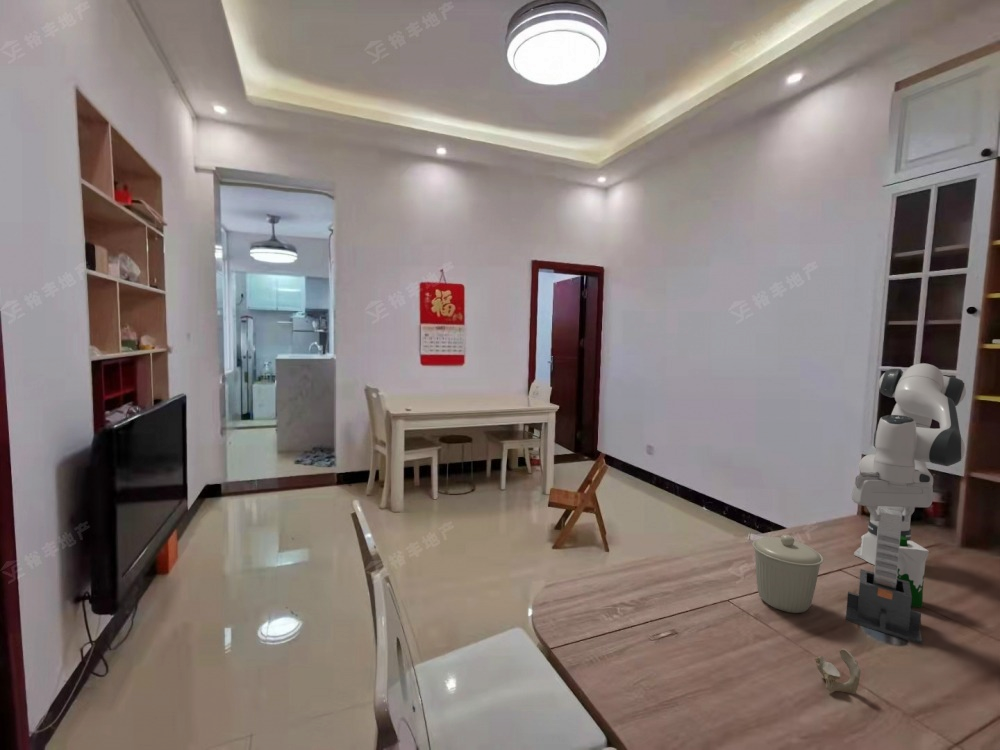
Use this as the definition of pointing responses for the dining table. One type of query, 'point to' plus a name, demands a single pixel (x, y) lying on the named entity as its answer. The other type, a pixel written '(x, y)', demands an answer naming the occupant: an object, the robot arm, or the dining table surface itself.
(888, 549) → the column
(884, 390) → the robot arm
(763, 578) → the canister
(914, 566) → the milk carton
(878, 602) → the stand
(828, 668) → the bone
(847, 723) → the dining table surface
